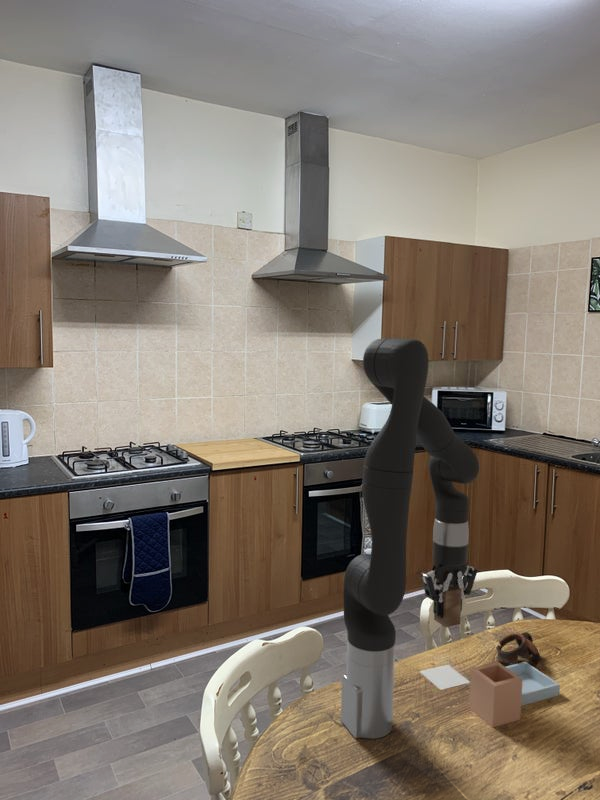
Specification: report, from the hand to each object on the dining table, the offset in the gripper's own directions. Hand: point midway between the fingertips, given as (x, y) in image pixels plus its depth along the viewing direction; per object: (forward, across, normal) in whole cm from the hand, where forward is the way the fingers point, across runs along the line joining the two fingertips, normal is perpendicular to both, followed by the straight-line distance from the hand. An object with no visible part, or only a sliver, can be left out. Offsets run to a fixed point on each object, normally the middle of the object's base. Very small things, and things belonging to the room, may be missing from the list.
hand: (447, 614), depth 135 cm
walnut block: (+2, 0, 0) cm, 2 cm away
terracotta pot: (+15, +1, -15) cm, 21 cm away
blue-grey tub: (+15, +12, -10) cm, 22 cm away
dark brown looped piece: (+15, +21, -1) cm, 26 cm away
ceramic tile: (+15, 0, 0) cm, 15 cm away
